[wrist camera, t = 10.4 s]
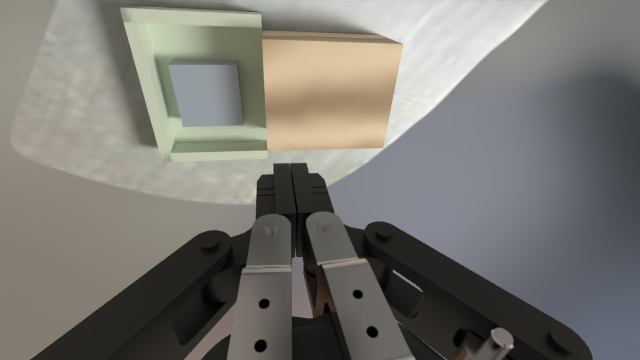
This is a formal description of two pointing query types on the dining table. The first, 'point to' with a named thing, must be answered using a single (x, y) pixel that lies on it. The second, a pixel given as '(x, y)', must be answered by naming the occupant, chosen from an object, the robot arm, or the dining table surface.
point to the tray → (199, 44)
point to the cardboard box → (328, 89)
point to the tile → (208, 92)
